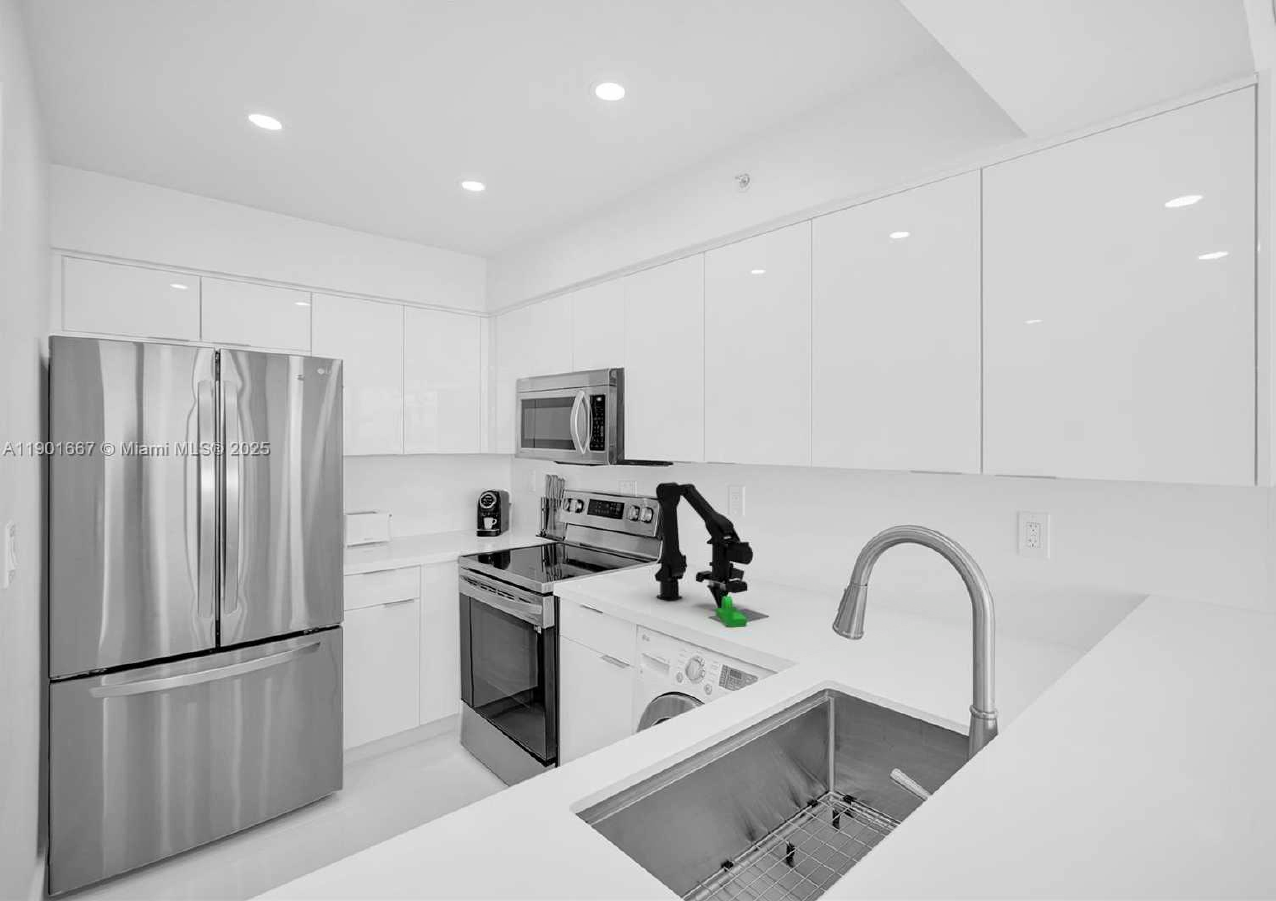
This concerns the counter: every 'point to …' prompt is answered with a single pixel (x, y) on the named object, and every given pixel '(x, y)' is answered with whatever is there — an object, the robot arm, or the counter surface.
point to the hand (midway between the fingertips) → (720, 608)
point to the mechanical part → (730, 613)
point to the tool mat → (746, 613)
